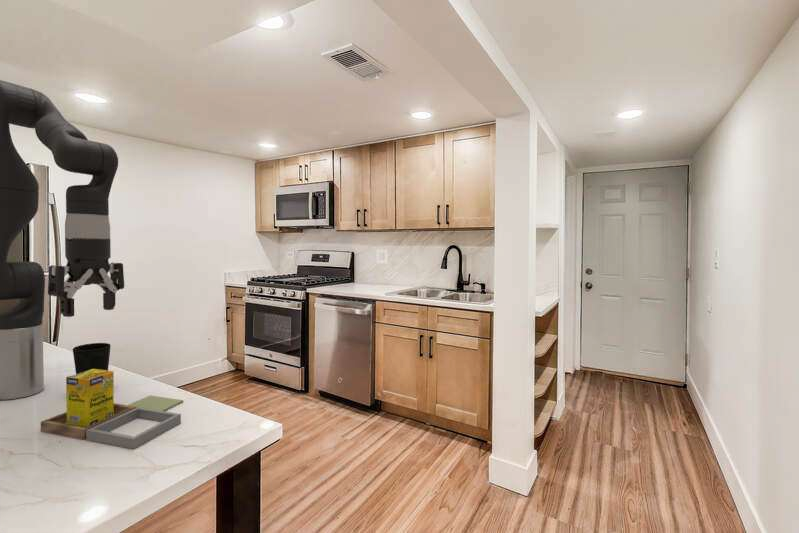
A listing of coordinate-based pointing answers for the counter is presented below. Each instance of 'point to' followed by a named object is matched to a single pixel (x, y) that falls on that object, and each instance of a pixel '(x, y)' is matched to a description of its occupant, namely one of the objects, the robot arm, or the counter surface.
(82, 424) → the supplement box
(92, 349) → the cup
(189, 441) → the counter surface
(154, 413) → the grey tray
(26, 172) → the robot arm
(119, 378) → the counter surface
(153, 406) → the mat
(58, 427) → the walnut tray
